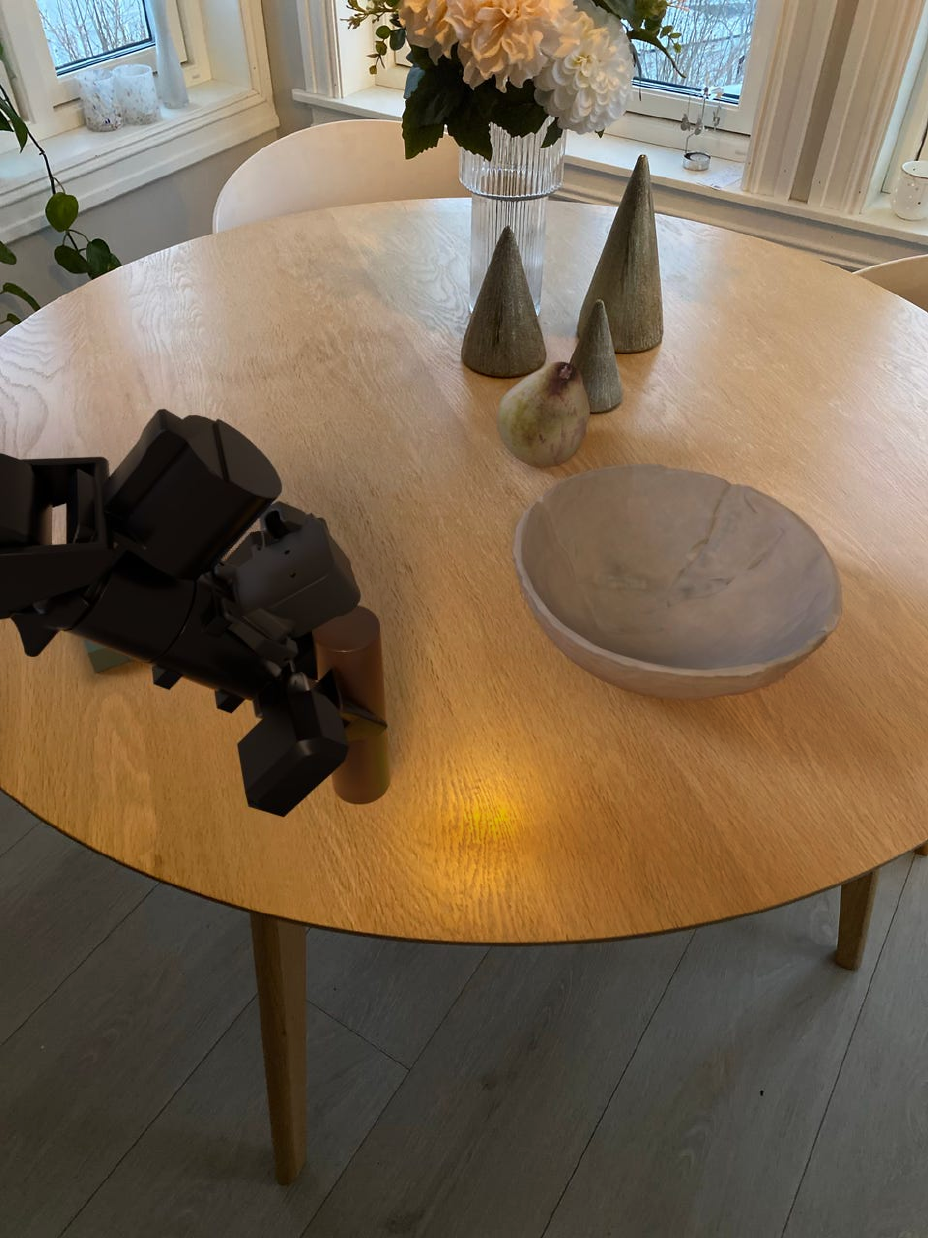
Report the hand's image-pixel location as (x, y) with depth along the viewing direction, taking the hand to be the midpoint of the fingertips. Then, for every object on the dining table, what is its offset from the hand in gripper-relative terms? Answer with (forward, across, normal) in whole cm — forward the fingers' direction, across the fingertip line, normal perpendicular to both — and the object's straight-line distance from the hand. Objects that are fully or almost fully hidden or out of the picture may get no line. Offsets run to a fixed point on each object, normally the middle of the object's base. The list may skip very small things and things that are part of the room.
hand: (375, 705), depth 62 cm
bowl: (+28, +11, -10) cm, 32 cm away
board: (-2, +28, +20) cm, 34 cm away
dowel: (+4, 0, +6) cm, 8 cm away
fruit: (+28, +41, -10) cm, 50 cm away
